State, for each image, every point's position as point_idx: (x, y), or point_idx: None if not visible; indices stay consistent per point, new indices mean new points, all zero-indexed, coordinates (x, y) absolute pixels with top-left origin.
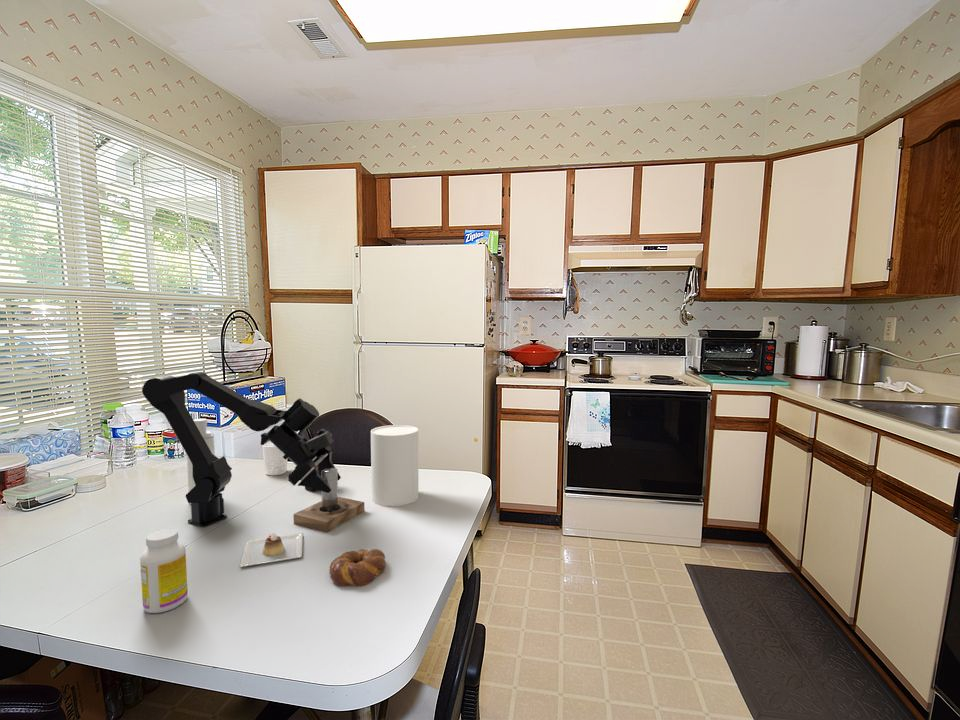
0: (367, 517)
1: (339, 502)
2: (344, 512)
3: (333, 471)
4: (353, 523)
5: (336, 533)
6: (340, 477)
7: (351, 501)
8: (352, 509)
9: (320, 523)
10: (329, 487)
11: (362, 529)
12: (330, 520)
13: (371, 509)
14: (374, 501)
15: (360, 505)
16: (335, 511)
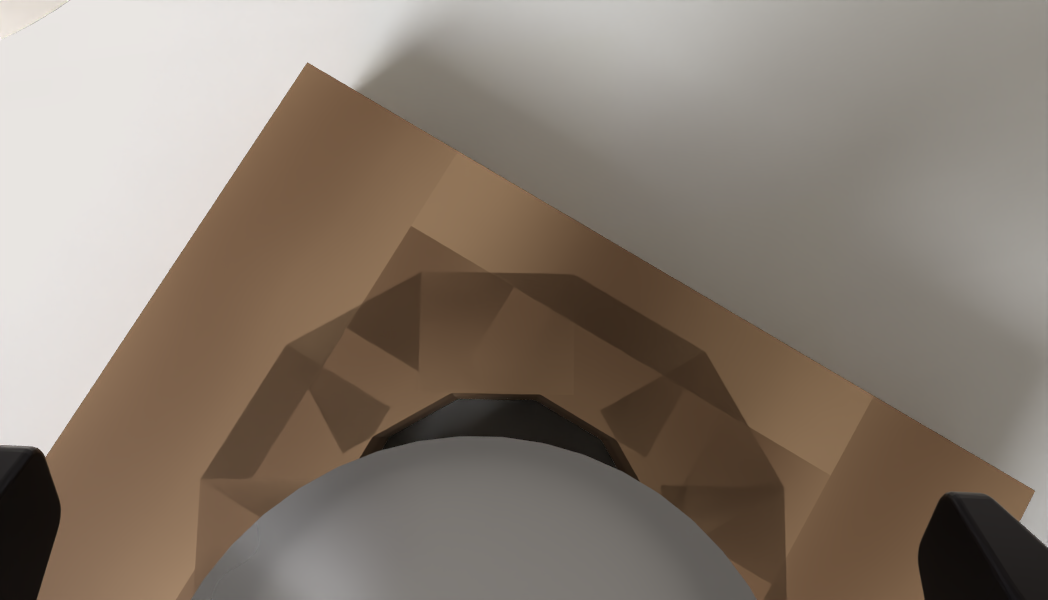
0: (544, 46)
1: (275, 456)
2: (694, 297)
3: (624, 561)
4: (717, 195)
5: (997, 354)
6: (19, 449)
7: (252, 268)
8: (546, 208)
9: None
10: (1017, 544)
11: (897, 59)
12: (961, 450)
13: (281, 27)
14: (38, 4)
15: (392, 115)
16: (645, 444)
